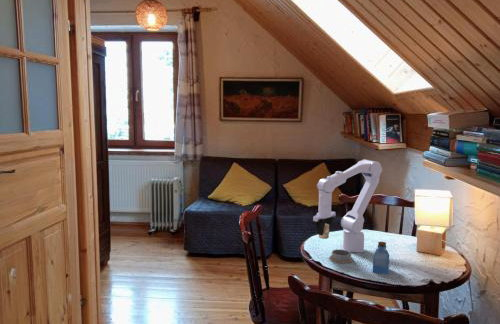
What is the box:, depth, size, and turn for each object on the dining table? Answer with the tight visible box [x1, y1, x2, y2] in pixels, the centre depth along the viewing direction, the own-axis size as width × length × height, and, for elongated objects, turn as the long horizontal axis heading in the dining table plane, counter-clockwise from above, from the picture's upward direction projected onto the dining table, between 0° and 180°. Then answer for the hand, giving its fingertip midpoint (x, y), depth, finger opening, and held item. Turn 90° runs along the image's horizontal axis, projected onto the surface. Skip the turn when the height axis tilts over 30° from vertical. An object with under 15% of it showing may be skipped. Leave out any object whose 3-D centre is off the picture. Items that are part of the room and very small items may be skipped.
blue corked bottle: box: [372, 241, 390, 275], centre depth 169 cm, size 6×6×12 cm
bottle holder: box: [329, 248, 354, 264], centre depth 182 cm, size 10×10×3 cm
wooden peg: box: [318, 223, 330, 240], centre depth 188 cm, size 4×4×6 cm
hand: (323, 233), depth 188 cm, fingers closed on wooden peg, 4 cm apart
